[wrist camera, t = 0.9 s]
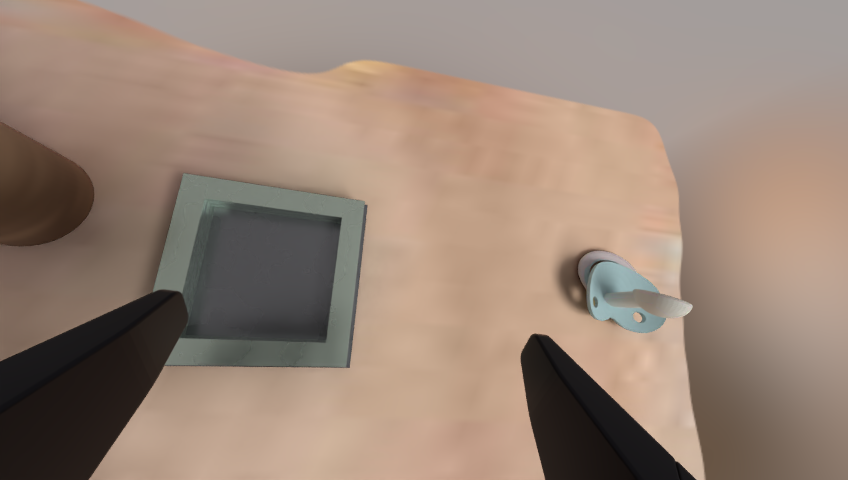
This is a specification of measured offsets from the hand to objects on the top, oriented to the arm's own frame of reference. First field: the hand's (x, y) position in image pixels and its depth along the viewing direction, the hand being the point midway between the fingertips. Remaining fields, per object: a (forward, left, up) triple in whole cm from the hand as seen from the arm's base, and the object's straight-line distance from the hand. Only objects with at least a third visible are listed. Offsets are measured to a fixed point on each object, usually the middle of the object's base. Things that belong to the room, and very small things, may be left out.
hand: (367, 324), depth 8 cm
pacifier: (+15, -14, -12) cm, 24 cm away
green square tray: (-1, +5, -12) cm, 13 cm away
